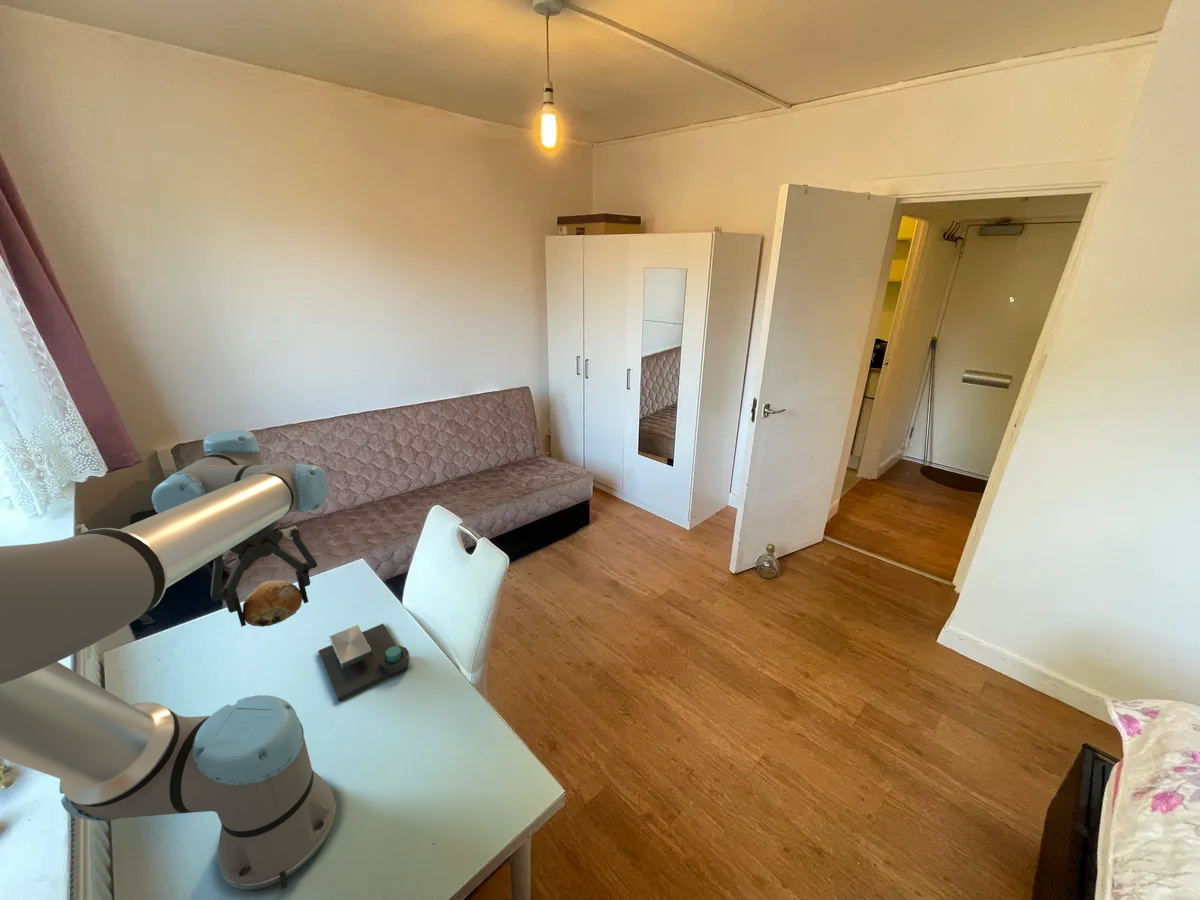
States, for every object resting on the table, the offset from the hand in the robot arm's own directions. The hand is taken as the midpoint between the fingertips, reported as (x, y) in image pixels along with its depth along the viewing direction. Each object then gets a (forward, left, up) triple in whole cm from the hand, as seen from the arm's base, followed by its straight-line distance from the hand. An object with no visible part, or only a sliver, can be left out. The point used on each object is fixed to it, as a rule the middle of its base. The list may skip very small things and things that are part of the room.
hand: (274, 610), depth 98 cm
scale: (-6, -13, -17) cm, 22 cm away
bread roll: (0, 0, 0) cm, 0 cm away
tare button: (-12, -18, -14) cm, 26 cm away
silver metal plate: (-4, -11, -14) cm, 18 cm away
